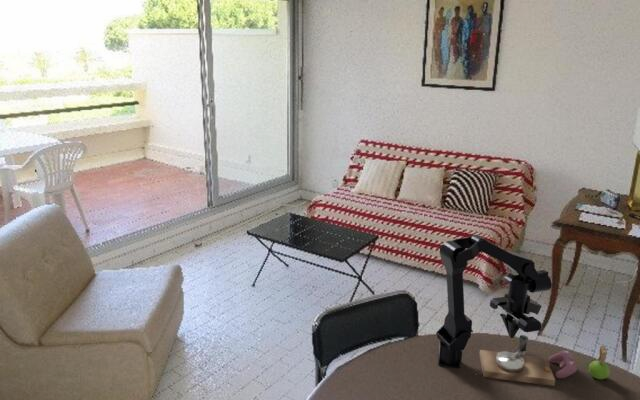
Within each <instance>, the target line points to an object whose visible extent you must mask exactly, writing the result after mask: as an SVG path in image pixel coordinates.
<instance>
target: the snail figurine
mask: <svg viewBox="0 0 640 400" xmlns="http://www.w3.org/2000/svg"><path fill="white" fill-rule="evenodd" d="M608 350H609V347H608V348H607V347H606V346H605V345H600V348H599V355H598V358H597V360H594V361H592V362H590V364H589V366H588V370H589V373H590V376H592V377H593V378H595V379H596V380H605V379H607V378H608V377H609V375H610V371H611V369H610V368H609V367H610V366H609V365H608V364H607V363H606V359H607V355H608Z"/></svg>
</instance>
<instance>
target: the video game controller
mask: <svg viewBox="0 0 640 400" xmlns="http://www.w3.org/2000/svg"><path fill="white" fill-rule="evenodd" d="M548 362H549V363H551V364H557V363H559V367H560V368H561V369H558V370H557V372H555V377H556V378H557V379H564V378H567V377H570V376H571V375H573V374H575V373H576V372H577V370H578V369H577V368H578V365H577V363H576V358H575V356H574V355H573V354H572V353H571V352H570V351H568V350H565V349H563V350H561V351H559V352H558V353H555V354H553V355H551V356H550V357H549V358H548Z"/></svg>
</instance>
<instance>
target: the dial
mask: <svg viewBox="0 0 640 400" xmlns="http://www.w3.org/2000/svg"><path fill="white" fill-rule="evenodd" d="M528 339H529V337H528V336H527V335H525V334H523V335H522V334H520V335H519V340H518V346H517V347H518V348H517V351H515V352H512V351H506V350H505V351H504V350H503V351H498V352H499V353H498V354H497V357H496V364H497V365H498V366H499V367H500V368H502V369H504V370H506V371H510V372H519V371H522V370H523V368H524V359H523V358H522V356H523V355H526V351H527V346H528V341H529V340H528Z"/></svg>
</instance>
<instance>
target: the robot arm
mask: <svg viewBox="0 0 640 400" xmlns="http://www.w3.org/2000/svg"><path fill="white" fill-rule="evenodd" d="M480 253H483V254H486V255H487V256H489V257H492V258H494V259H495V260H498V261H499V262H502V263H503V264H504V265H505V266H506V267H507V268H508V269H509V270H511V271H513V272H514V273H516V274H513V273H511V272H509V273H508V274H507V275H505V276H503V280H504V281H506V282H508V288H507V289H508V290H507V293H504V296H500V297H499V296H498V297H493V298H492V299H490V302H489V307H490V308H492V309H493V310H496V309H498V308H499V307H500V308H501V310H502V313H500V314H499V316H500V317H501V320H502V322H503V324H504V327H505V330H506V331H507V334H508V337H509V338H511V339H513V338H515V337H516V336H517V335H516V334H517V333H518V331H519V329H520V330H521V331H523V332H524V333H531V332H540V331H541V330H542V325H543V323H542V322H541V321H540V320H539V319H537V318H536V317H534V316H527V315H530V313H532V314H535V315H539V313H540V311H541V309H542V307H543V306H542V305H541V304H540V303H538V302H537V301H535V300H533V299H531V295H529V294H528V292H529V293H531V294H533V293H542V292H548V291H550V290H551V289H552V286H553V283H552V280H551V278H550V276H549V271H547V270H545V269H540V270H536V266H535V264H536V263H535V262H534V261H533V260H532V259H530V258H528V257H526V256H525V255H523V254H521V253H520V252H516V251H508V250H505V249H504V248H502V247H500V246H498V245H496V244H494V243H492V242H490V241H488V240H487V239H486V238H484V237H482V236H481V235H479V234H473V235H470V236H467V237H460V238H455V239H453V240H447V241H445V242H444V243H442V245H440V248H439V255H440V259H441V263H442V266H443V267H444V269H445V274H446V288H447V289H446V290H447V308H448V309H447V311H448V312H447V314H446V316H445V317H444V322H443V325H442V326H441V327H440V328H439V329H438V330H437V331H436V332H435V336H436V338H437V339H438V340H439V345H438V347H439V348H438V353H437V363H438V364H437V365H438V366H440V367H448V368H456V369H460V368H461V367H460V366H461V365H460V364H462V358H463V357H462V356H463V351H464V350H465V349H466V346H467V343H468V342H469V340H470V339H471V336H472V333H473V332H474V331H473V328H472V326H473V322H472V321H473V320H472V319H471V318H470V317H469V316H467V315H466V314H465V294H464V292H465V291H464V289H465V288H464V271H465V269H467V266H468V262H469V261H471V260H474V259H475V258H476V257H478V256H477V255H479V254H480Z"/></svg>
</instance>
